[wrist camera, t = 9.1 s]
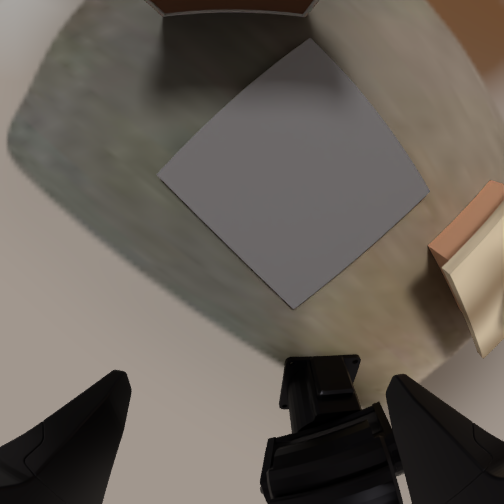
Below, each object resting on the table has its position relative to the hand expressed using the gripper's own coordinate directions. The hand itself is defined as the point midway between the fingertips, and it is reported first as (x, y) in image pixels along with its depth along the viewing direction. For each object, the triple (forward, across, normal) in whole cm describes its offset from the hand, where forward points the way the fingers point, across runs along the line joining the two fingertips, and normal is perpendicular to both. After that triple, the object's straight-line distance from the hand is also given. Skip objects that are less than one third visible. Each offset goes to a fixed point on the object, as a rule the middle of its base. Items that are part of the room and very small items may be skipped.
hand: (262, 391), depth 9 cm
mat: (+12, -3, -5) cm, 13 cm away
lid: (+8, -19, -1) cm, 20 cm away
